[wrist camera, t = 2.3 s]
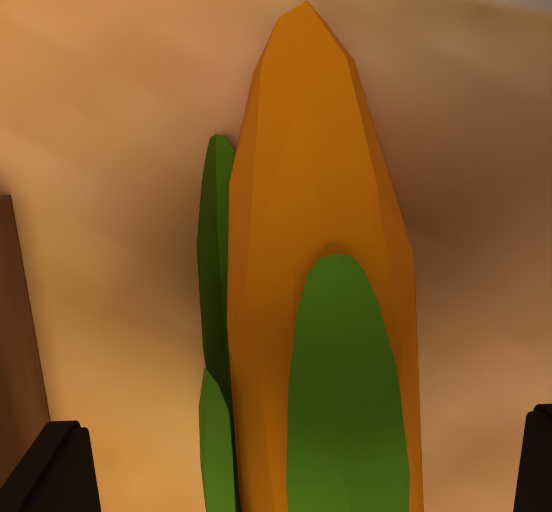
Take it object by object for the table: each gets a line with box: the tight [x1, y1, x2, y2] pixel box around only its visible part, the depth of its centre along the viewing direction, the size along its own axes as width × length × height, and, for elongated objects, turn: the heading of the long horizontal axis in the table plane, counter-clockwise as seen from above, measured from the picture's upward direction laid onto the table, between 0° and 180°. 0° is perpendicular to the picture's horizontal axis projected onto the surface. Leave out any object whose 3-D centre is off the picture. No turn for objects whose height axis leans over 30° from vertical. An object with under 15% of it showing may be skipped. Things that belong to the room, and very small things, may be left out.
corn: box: [197, 1, 424, 512], centre depth 15 cm, size 7×8×20 cm
